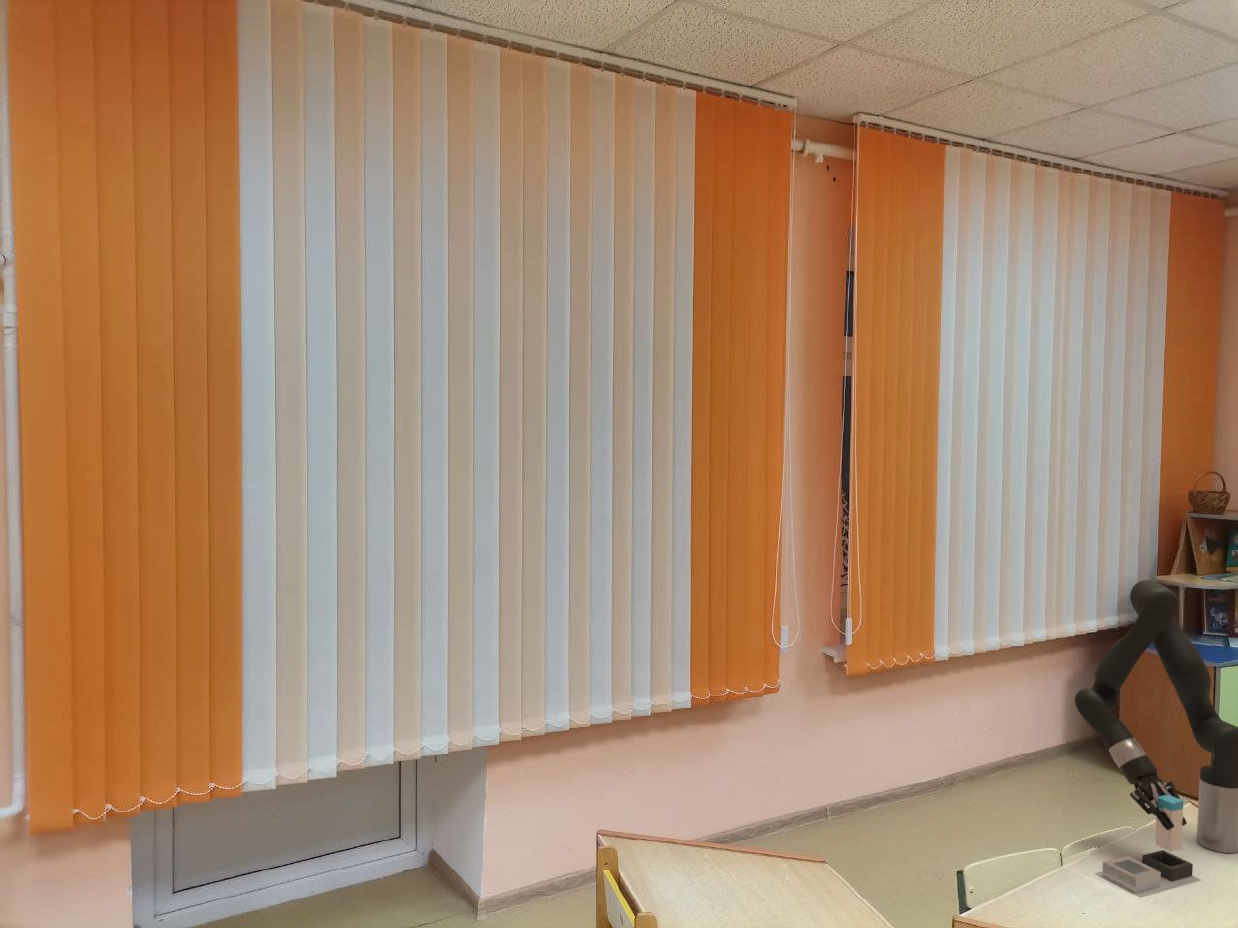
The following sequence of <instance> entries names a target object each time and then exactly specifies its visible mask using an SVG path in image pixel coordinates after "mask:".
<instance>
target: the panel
mask: <svg viewBox="0 0 1238 928" xmlns="http://www.w3.org/2000/svg"><path fill="white" fill-rule="evenodd" d="M1139 862H1141V863H1142V860H1141V861H1139ZM1094 875H1096V876H1098V877H1099V878H1102V879H1104V880H1106V881H1107V882H1110V883H1112V884H1113V885H1115V886H1118V887H1119V888H1120V889H1123V890H1125V891H1126V892H1129V893H1130V894H1132V895H1134V896H1136V897H1138V898H1139V899H1140V898H1144V897H1148V896H1152V895H1155V894H1159V893H1161V892H1165V891H1169V890H1172V889H1176V888H1179V887H1182V886H1186V885H1190V884H1194V883H1197V882H1200V881H1202V879H1200V878H1198V877H1196V876H1195V875H1192V876H1190V877H1186V878H1183V879H1179V880H1176V881H1172V882H1171V881H1169V880H1167V879H1165V878H1163V877H1160V887H1157V888H1153V889H1149V890H1146V891H1142V892H1139V893H1134V892H1132V891H1130V890H1128V889H1126V888H1124V887H1122V886H1120V885H1118V884H1117V883H1115V882H1113V881H1111V880H1109V879H1107V878H1105V877H1103V876H1102V875H1103V870H1101V871H1097V872H1095V873H1094Z"/></svg>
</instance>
